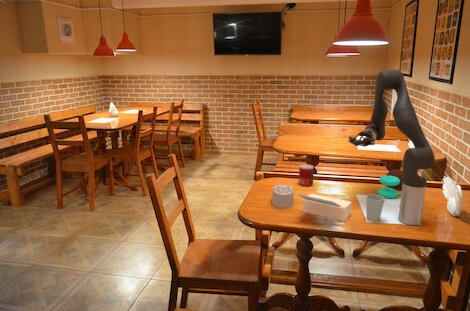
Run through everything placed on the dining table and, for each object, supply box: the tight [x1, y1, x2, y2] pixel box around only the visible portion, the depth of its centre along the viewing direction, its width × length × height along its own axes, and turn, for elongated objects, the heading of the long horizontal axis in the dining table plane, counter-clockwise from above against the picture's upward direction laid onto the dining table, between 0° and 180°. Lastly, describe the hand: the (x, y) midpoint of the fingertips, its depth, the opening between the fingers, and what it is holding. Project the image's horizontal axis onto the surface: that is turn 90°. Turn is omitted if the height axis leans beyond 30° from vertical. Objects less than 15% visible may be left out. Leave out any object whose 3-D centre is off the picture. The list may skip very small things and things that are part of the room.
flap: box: [296, 193, 340, 207], centre depth 161 cm, size 16×1×12 cm
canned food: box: [298, 164, 315, 188], centre depth 210 cm, size 8×8×11 cm
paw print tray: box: [271, 184, 295, 210], centre depth 182 cm, size 10×13×9 cm
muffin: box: [385, 169, 403, 191], centre depth 205 cm, size 12×11×10 cm
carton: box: [301, 193, 352, 222], centre depth 171 cm, size 20×10×6 cm, turn 56°
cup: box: [365, 193, 386, 223], centre depth 164 cm, size 8×8×10 cm
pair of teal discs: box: [377, 175, 400, 199], centre depth 193 cm, size 10×10×10 cm
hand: (356, 143), depth 169 cm, fingers closed
